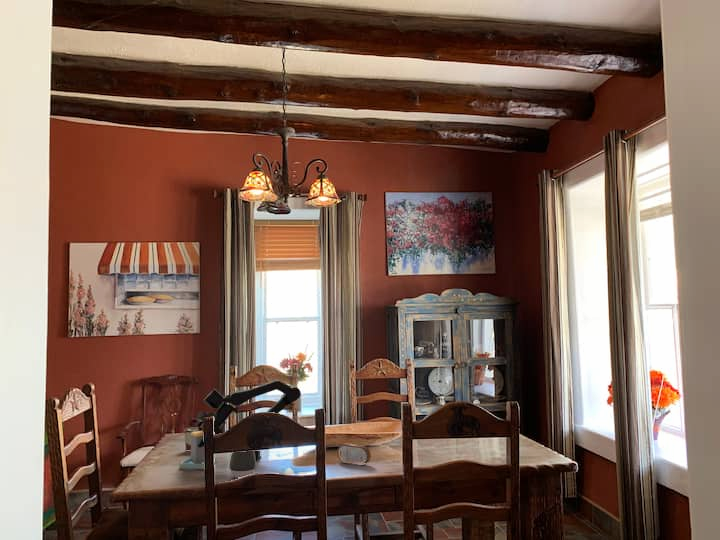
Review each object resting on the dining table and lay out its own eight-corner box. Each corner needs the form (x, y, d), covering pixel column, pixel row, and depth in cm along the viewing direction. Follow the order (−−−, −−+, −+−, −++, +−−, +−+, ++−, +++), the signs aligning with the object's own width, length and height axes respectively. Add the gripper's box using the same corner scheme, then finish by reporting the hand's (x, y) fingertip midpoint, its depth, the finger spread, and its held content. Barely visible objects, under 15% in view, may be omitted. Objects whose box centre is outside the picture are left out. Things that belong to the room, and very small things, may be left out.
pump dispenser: (223, 477, 202) (224, 437, 203) (245, 471, 209) (246, 433, 211) (238, 482, 195) (240, 441, 196) (261, 476, 202) (262, 437, 204)
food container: (213, 448, 245) (214, 427, 246) (208, 452, 239) (209, 429, 239) (188, 447, 246) (189, 426, 247) (182, 451, 240) (183, 429, 241)
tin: (370, 465, 220) (371, 445, 220) (367, 467, 217) (368, 446, 218) (339, 461, 226) (339, 441, 227) (336, 462, 223) (336, 442, 224)
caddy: (201, 459, 220) (202, 430, 222) (207, 461, 217) (208, 432, 218) (190, 461, 217) (191, 432, 218) (195, 463, 213) (196, 434, 214)
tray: (216, 462, 222) (216, 457, 222) (205, 470, 210) (205, 464, 211) (191, 461, 223) (191, 456, 223) (179, 468, 212) (179, 463, 212)
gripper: (199, 401, 229) (174, 430, 220) (219, 406, 215) (192, 437, 206) (215, 417, 233) (191, 446, 225) (235, 423, 219) (210, 454, 211)
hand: (195, 445), depth 217 cm, fingers closed on caddy, 5 cm apart
